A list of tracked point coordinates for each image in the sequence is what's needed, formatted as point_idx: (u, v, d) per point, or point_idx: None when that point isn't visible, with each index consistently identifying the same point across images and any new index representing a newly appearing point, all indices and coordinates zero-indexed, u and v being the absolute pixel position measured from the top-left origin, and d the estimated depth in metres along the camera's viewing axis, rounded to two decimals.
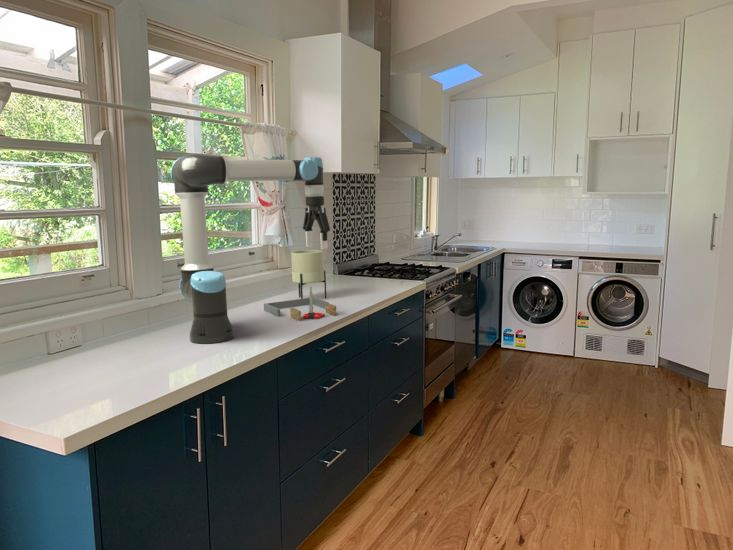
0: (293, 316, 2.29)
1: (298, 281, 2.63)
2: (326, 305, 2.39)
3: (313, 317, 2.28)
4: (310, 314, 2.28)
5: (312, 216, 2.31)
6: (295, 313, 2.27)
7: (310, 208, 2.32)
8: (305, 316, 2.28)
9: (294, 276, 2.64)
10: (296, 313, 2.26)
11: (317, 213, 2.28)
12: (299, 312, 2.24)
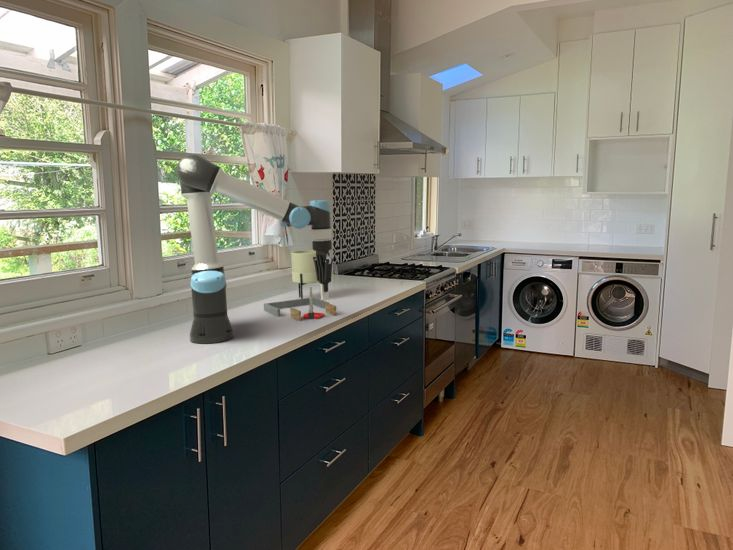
0: (293, 316, 2.29)
1: (298, 281, 2.63)
2: (326, 305, 2.39)
3: (313, 317, 2.28)
4: (310, 314, 2.28)
5: (319, 261, 2.20)
6: (295, 313, 2.27)
7: (317, 252, 2.21)
8: (305, 316, 2.28)
9: (294, 276, 2.64)
10: (296, 313, 2.26)
11: (325, 258, 2.17)
12: (299, 312, 2.24)
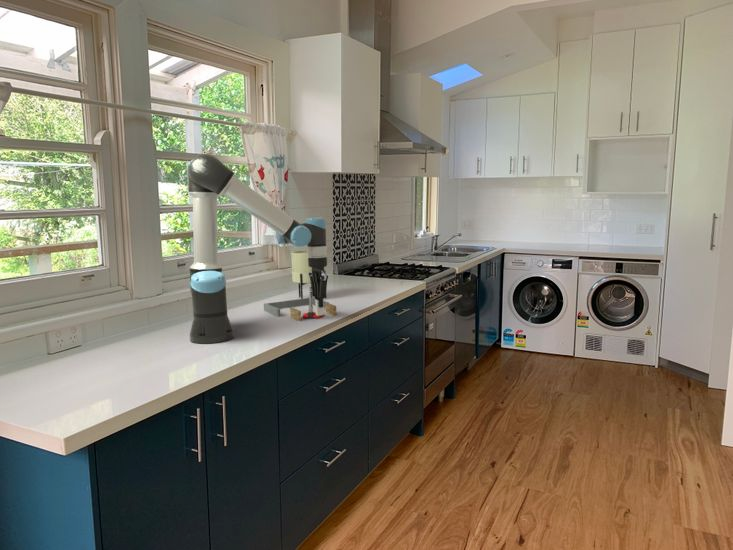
0: (293, 316, 2.29)
1: (298, 281, 2.63)
2: (326, 305, 2.39)
3: (313, 317, 2.28)
4: (310, 314, 2.28)
5: None
6: (295, 313, 2.27)
7: (313, 269, 2.26)
8: (305, 316, 2.29)
9: (294, 276, 2.64)
10: (296, 313, 2.26)
11: (320, 275, 2.22)
12: (299, 312, 2.24)
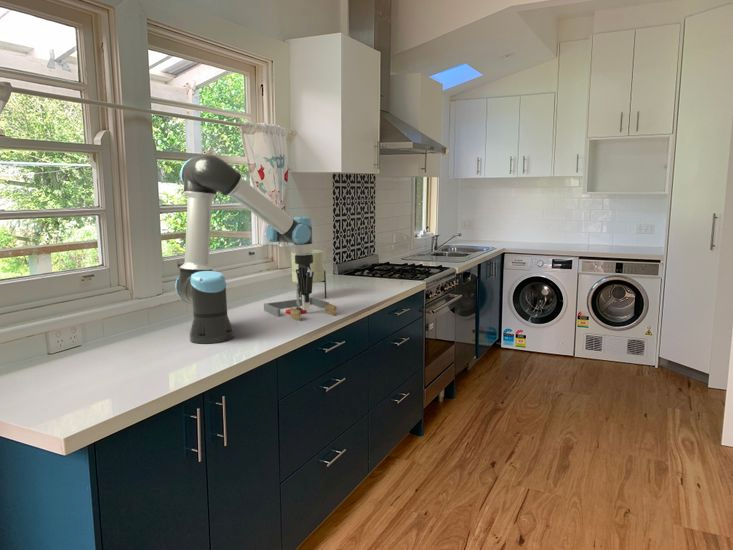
0: (293, 316, 2.29)
1: None
2: (326, 305, 2.39)
3: (301, 312, 2.38)
4: (298, 309, 2.37)
5: (301, 273, 2.36)
6: (295, 313, 2.27)
7: (299, 265, 2.37)
8: None
9: (294, 276, 2.64)
10: (296, 313, 2.26)
11: (306, 271, 2.33)
12: (299, 312, 2.24)
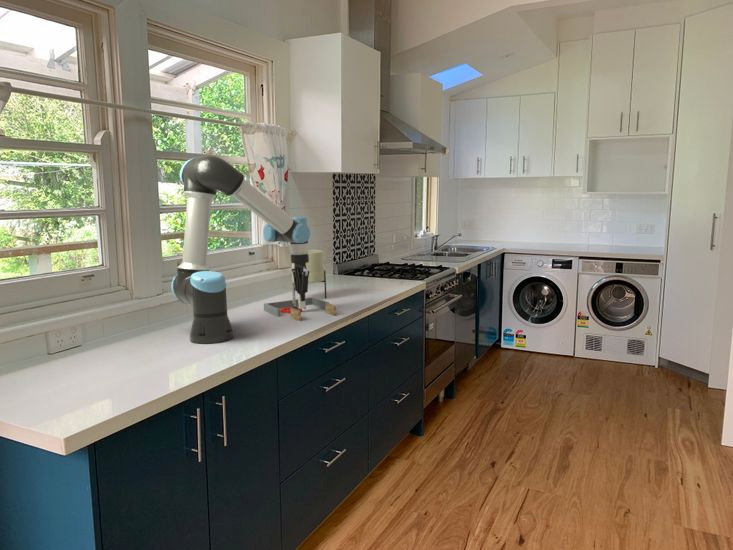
0: (293, 316, 2.29)
1: None
2: (326, 305, 2.39)
3: None
4: (295, 308, 2.40)
5: None
6: (295, 313, 2.27)
7: (295, 265, 2.40)
8: None
9: None
10: (296, 313, 2.26)
11: (302, 271, 2.36)
12: (299, 312, 2.24)
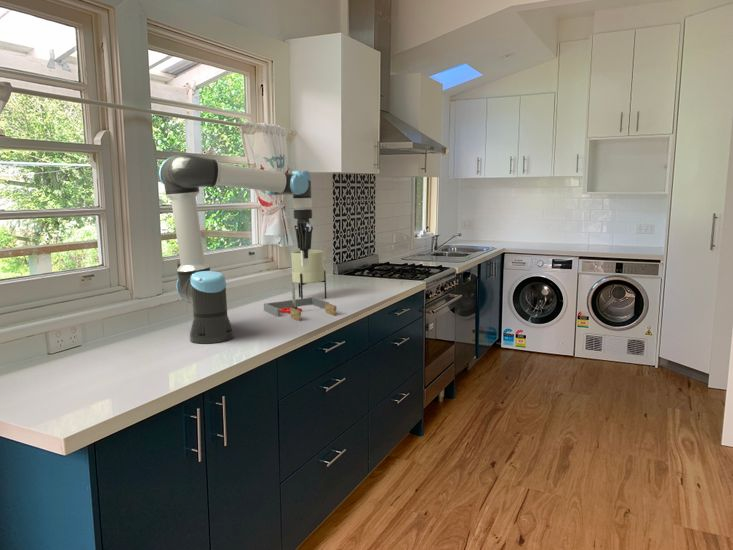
0: (293, 316, 2.29)
1: (298, 281, 2.63)
2: (326, 305, 2.39)
3: None
4: (295, 308, 2.40)
5: None
6: (295, 313, 2.27)
7: (298, 221, 2.33)
8: None
9: (294, 276, 2.64)
10: (296, 313, 2.26)
11: (305, 226, 2.29)
12: (299, 312, 2.24)
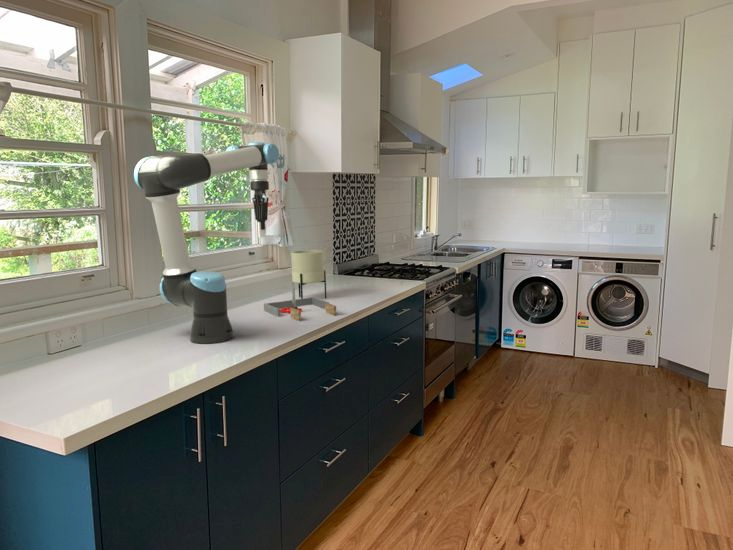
0: (293, 316, 2.29)
1: (298, 281, 2.63)
2: (326, 305, 2.39)
3: None
4: (295, 308, 2.40)
5: None
6: (295, 313, 2.27)
7: (255, 193, 2.36)
8: None
9: (294, 276, 2.64)
10: (296, 313, 2.26)
11: (261, 197, 2.32)
12: (299, 312, 2.24)
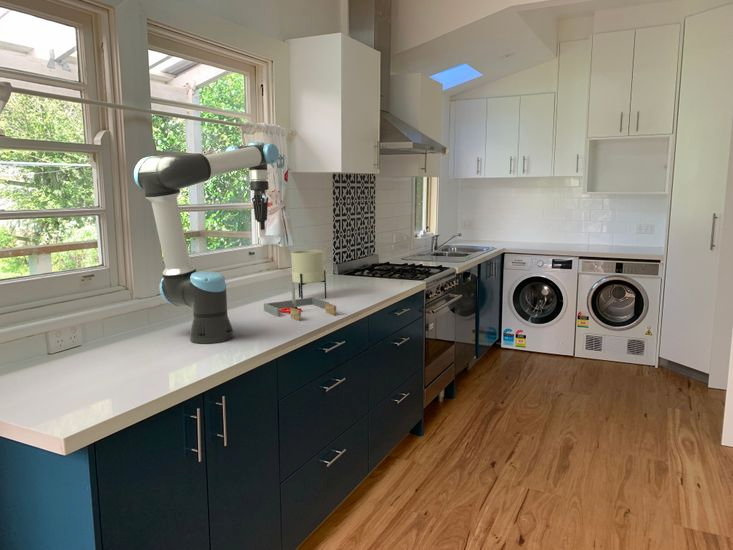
0: (293, 316, 2.29)
1: (298, 281, 2.63)
2: (326, 305, 2.39)
3: None
4: (295, 308, 2.40)
5: None
6: (295, 313, 2.27)
7: (255, 193, 2.37)
8: None
9: (294, 276, 2.64)
10: (296, 313, 2.26)
11: (261, 197, 2.32)
12: (299, 312, 2.24)
